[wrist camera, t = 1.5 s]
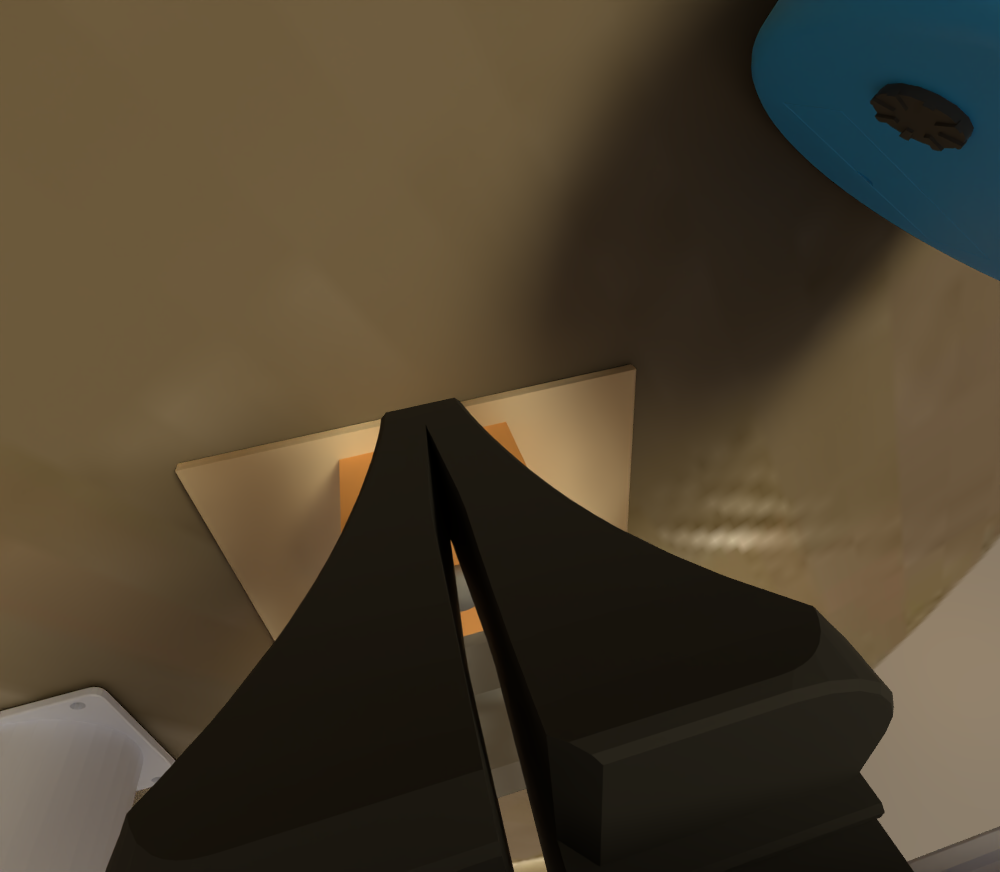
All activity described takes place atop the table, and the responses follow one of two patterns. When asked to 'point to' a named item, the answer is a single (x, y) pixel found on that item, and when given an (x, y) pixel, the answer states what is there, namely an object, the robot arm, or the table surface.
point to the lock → (350, 486)
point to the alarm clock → (895, 110)
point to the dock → (315, 458)
